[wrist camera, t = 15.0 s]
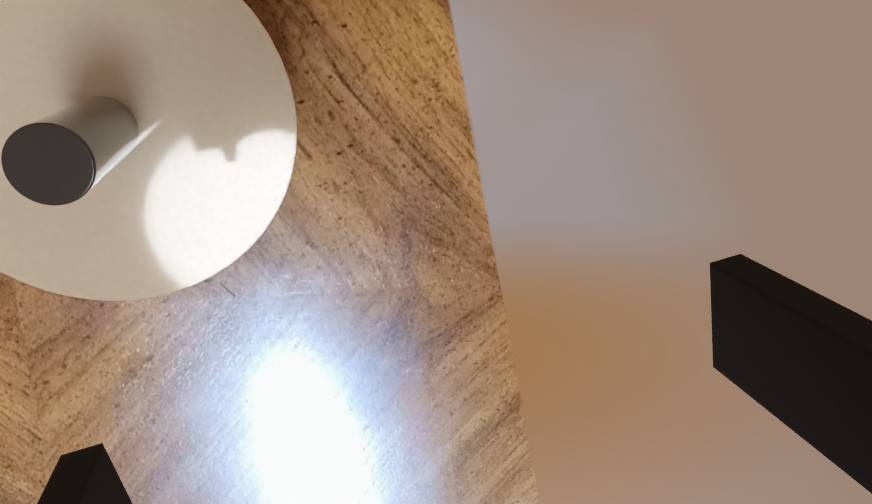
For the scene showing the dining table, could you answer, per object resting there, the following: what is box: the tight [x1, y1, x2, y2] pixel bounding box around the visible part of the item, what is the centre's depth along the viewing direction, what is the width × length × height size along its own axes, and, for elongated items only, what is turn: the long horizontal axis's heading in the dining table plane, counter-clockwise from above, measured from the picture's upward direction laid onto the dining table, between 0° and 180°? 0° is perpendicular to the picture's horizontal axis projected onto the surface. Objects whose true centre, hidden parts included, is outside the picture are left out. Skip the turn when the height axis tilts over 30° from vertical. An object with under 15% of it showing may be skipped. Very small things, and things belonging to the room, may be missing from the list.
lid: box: [0, 0, 298, 301], centre depth 25 cm, size 17×17×9 cm
